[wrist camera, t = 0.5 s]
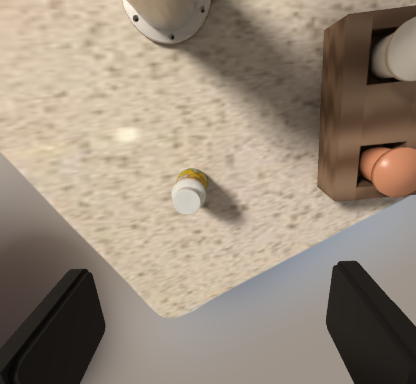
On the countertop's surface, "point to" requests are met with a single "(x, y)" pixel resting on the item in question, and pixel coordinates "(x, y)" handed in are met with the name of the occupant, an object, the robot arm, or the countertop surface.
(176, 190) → the supplement bottle
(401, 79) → the cream button
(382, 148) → the orange-brown round piece
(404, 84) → the wooden shaker caddy
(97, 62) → the countertop surface
